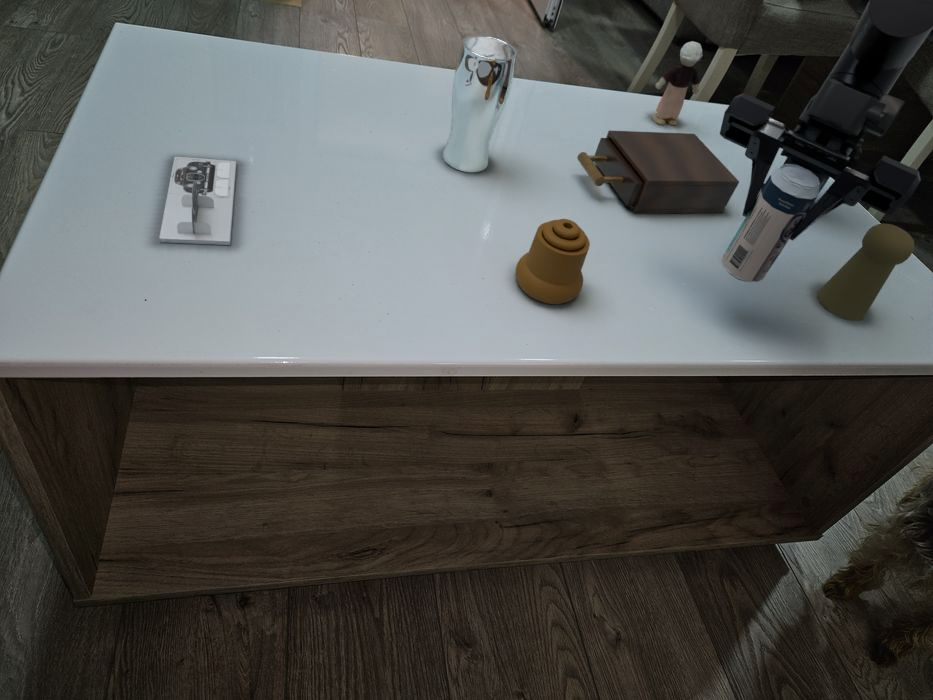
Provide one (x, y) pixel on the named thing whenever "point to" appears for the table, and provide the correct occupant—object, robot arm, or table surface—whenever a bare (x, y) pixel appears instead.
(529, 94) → the table surface
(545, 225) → the ornamental finial
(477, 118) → the beer glass
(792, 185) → the beer can
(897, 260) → the game pawn
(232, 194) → the white flat box
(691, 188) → the cabinet
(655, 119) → the grandmother figurine
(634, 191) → the drawer
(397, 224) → the table surface
